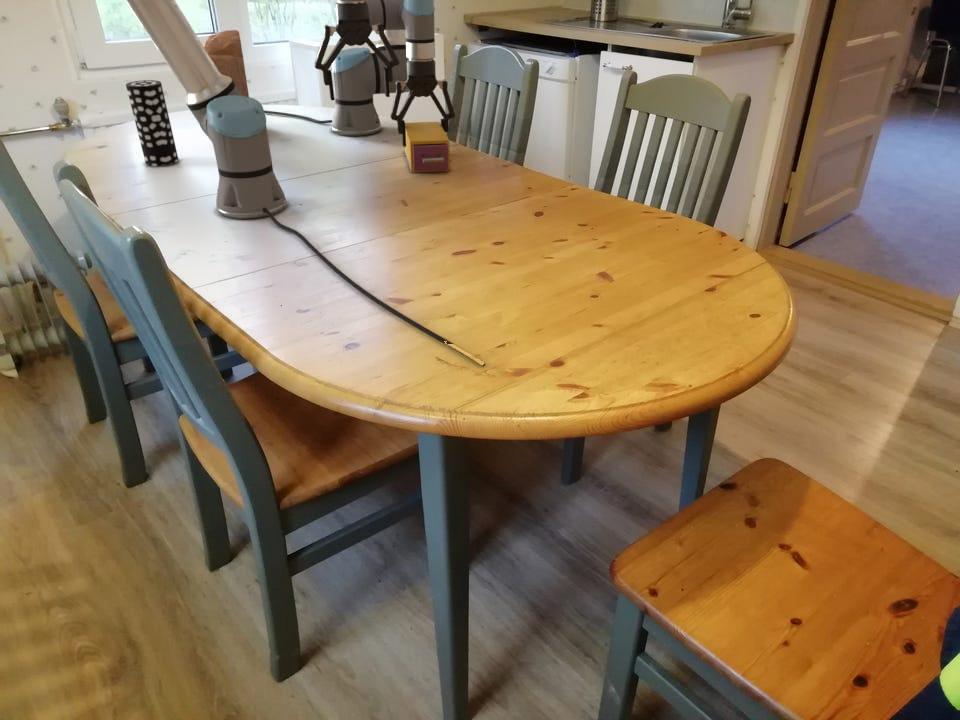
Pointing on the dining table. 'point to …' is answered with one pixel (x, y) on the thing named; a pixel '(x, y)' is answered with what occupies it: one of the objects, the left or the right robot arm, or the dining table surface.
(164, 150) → the black white spotted cylinder
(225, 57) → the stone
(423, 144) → the drawer
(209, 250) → the dining table surface
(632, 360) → the dining table surface
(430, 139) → the cabinet
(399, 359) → the dining table surface
